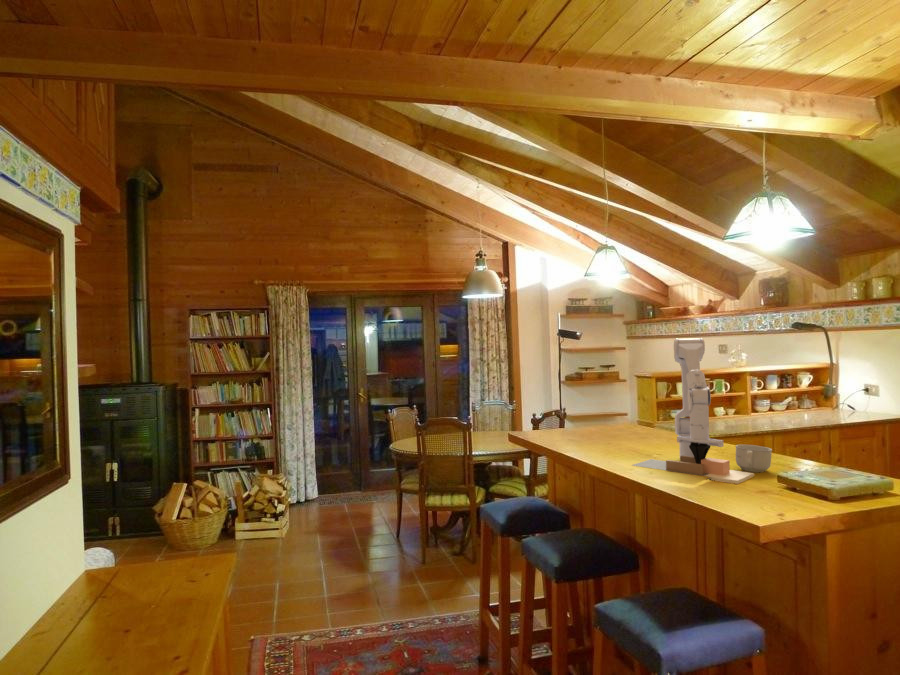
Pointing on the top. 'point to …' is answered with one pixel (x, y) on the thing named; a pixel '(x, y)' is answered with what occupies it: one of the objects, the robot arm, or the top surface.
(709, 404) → the robot arm
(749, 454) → the teacup
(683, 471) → the tunnel board
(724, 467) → the terracotta block
